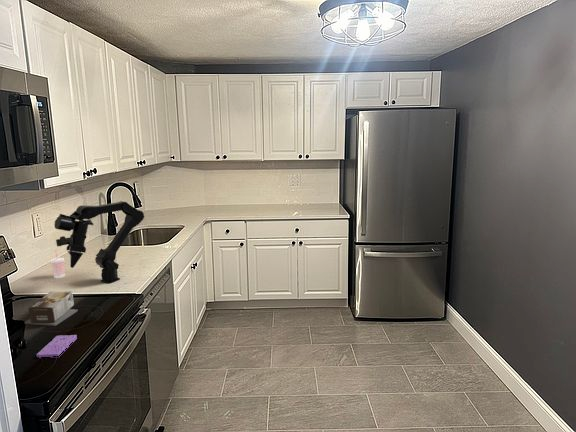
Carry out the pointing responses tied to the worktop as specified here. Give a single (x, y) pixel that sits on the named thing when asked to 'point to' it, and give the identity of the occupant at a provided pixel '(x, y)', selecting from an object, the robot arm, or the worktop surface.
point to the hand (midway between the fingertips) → (71, 267)
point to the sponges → (57, 346)
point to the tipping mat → (63, 317)
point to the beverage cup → (58, 266)
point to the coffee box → (51, 307)
